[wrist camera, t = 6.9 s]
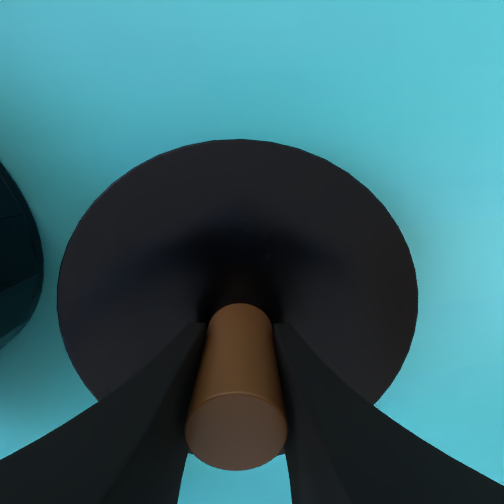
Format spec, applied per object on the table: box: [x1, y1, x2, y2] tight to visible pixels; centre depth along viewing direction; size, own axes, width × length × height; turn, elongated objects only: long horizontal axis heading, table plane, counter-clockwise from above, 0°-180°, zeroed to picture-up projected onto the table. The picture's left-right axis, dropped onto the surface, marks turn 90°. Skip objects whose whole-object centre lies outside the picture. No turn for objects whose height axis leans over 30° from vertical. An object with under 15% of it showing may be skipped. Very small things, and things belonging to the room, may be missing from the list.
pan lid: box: [57, 139, 418, 471], centre depth 9 cm, size 14×14×6 cm
